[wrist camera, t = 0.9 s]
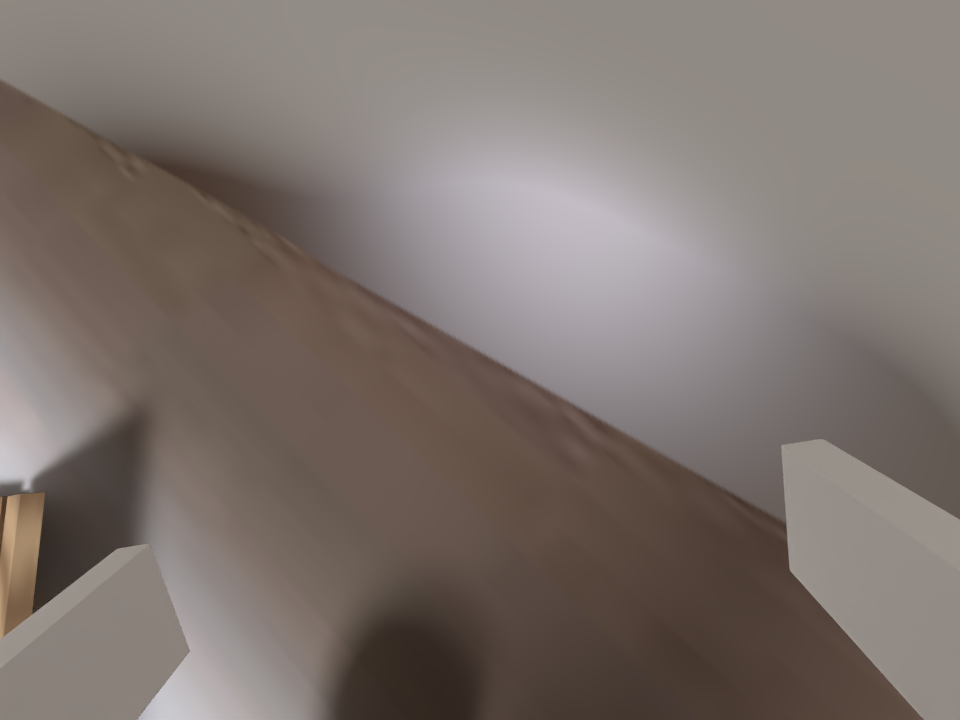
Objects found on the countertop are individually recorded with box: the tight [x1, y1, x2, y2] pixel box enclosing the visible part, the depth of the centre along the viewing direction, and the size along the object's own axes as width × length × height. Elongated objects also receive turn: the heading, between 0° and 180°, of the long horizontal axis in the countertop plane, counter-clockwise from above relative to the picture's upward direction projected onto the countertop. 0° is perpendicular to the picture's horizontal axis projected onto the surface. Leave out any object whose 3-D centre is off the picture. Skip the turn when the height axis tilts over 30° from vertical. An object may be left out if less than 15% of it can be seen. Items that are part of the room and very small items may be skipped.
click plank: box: [0, 492, 45, 639], centre depth 32 cm, size 26×9×1 cm
